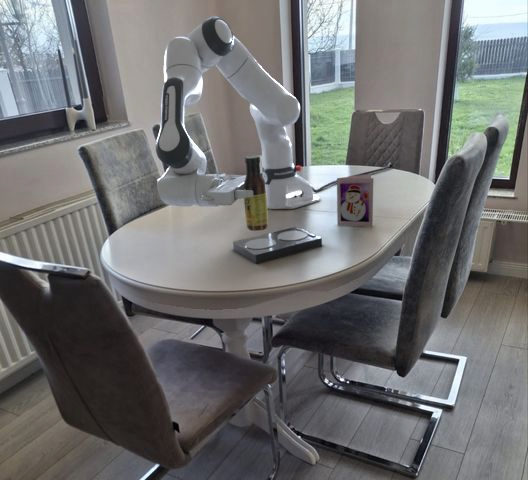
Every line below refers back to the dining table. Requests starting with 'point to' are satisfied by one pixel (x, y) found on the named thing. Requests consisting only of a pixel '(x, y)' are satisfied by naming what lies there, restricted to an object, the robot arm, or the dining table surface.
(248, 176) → the sauce bottle
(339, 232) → the dining table surface
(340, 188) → the greeting card
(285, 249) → the hot plate
